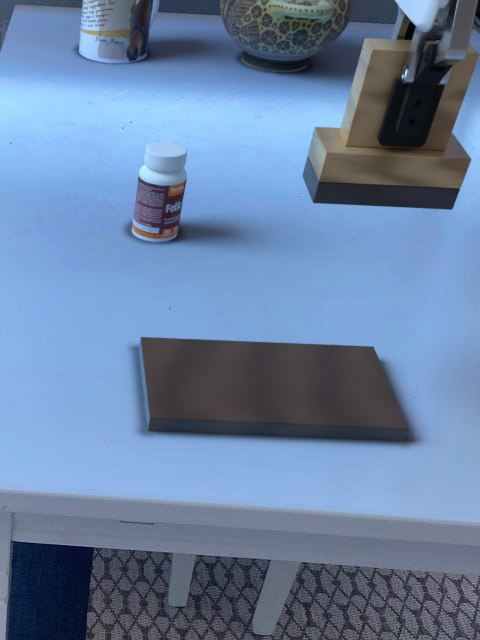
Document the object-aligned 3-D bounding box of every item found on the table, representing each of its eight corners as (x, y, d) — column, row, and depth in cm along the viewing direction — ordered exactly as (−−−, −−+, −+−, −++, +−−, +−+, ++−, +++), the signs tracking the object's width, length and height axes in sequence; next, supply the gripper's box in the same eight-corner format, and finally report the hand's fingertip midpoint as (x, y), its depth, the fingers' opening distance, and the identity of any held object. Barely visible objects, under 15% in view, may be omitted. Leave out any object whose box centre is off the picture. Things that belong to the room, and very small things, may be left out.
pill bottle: (167, 248, 95) (181, 161, 89) (124, 238, 96) (134, 151, 90) (183, 230, 98) (198, 145, 92) (141, 220, 99) (152, 135, 93)
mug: (73, 42, 139) (79, -49, 131) (152, 41, 140) (163, -49, 132) (84, 65, 132) (92, -29, 124) (168, 64, 133) (181, -29, 125)
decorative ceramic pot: (213, 55, 145) (206, -61, 134) (333, 25, 141) (336, -96, 131) (236, 114, 128) (230, -12, 118) (372, 82, 125) (379, -51, 114)
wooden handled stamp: (435, 182, 70) (487, 37, 63) (452, 210, 67) (509, 60, 60) (301, 176, 71) (338, 31, 64) (312, 203, 67) (352, 53, 60)
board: (368, 361, 82) (373, 345, 80) (402, 444, 74) (409, 428, 72) (138, 352, 82) (140, 336, 81) (147, 434, 74) (149, 417, 73)
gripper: (630, -192, 47) (481, 186, 61) (526, -230, 58) (419, 98, 71) (479, -198, 47) (364, 180, 61) (403, -235, 58) (320, 93, 72)
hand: (395, 133), depth 66 cm, fingers closed on wooden handled stamp, 2 cm apart
